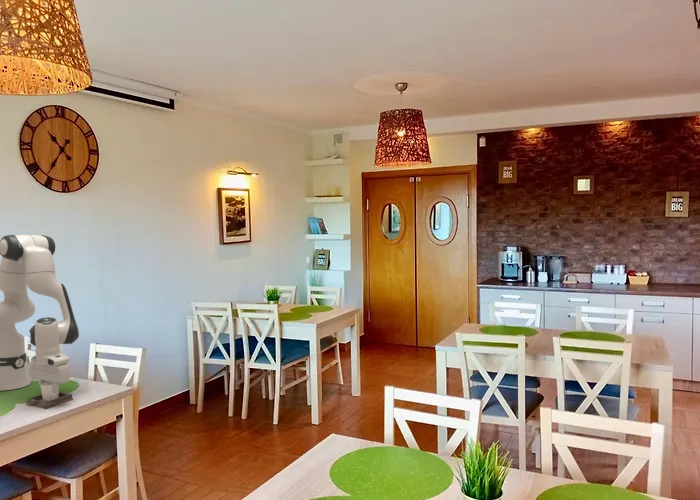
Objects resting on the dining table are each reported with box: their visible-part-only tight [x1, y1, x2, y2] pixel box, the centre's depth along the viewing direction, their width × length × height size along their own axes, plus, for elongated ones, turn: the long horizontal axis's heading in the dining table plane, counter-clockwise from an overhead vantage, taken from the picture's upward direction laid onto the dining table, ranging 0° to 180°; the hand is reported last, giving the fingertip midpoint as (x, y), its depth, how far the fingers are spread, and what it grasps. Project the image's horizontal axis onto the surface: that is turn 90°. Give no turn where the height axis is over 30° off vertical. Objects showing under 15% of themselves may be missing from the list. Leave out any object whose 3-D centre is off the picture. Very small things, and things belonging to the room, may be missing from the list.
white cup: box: [39, 381, 60, 401], centre depth 225 cm, size 7×7×7 cm
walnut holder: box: [26, 391, 74, 410], centre depth 225 cm, size 12×12×2 cm
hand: (49, 390), depth 225 cm, fingers closed on white cup, 5 cm apart
